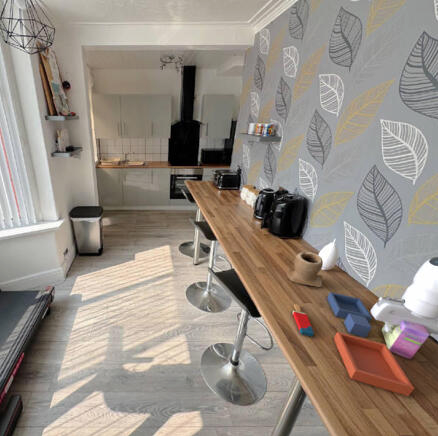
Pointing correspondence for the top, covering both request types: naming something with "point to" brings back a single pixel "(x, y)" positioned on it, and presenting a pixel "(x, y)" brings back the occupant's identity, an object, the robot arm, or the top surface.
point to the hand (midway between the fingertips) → (401, 334)
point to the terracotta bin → (372, 363)
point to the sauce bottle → (329, 256)
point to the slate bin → (347, 306)
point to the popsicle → (302, 322)
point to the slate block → (357, 325)
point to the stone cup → (307, 269)
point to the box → (405, 338)
